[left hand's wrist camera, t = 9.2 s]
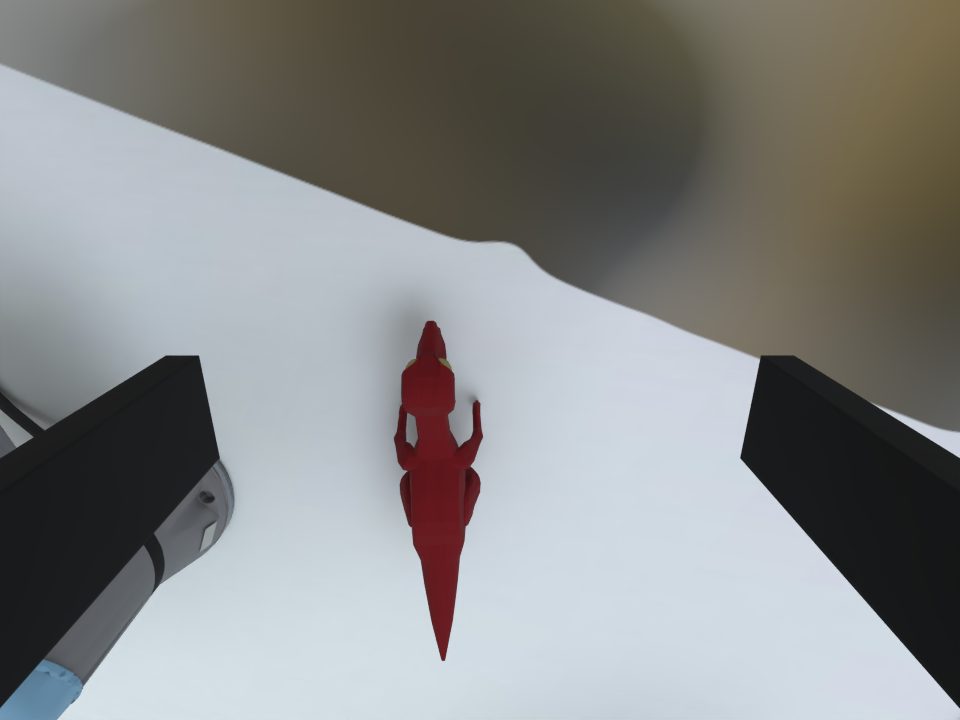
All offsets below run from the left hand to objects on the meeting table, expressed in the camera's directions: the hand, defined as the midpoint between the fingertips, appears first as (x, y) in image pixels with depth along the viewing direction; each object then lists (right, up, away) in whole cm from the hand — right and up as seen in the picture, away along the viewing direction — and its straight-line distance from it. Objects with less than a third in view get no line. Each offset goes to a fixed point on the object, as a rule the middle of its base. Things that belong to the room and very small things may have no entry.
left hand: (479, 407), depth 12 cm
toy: (-3, -6, +36) cm, 36 cm away
